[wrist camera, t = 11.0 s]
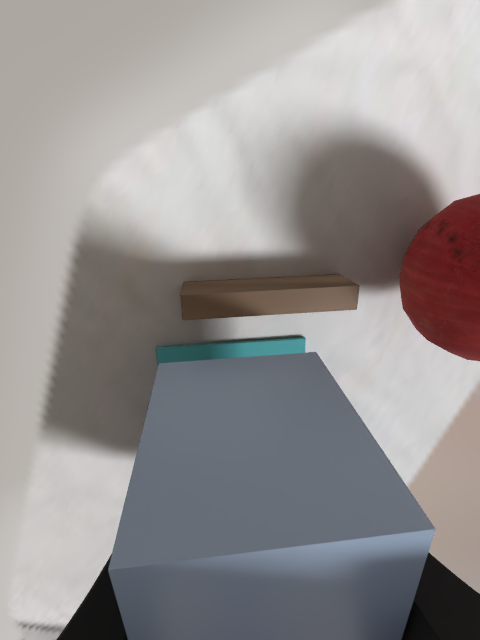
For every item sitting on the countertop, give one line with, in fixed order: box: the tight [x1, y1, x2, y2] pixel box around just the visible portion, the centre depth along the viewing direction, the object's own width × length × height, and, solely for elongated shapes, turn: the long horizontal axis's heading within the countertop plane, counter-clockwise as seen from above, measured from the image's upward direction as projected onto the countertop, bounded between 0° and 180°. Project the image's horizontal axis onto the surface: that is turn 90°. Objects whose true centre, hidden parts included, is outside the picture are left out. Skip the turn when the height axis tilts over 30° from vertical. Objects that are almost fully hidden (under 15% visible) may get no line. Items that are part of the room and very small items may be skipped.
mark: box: [156, 337, 306, 365], centre depth 17 cm, size 7×7×1 cm
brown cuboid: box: [180, 274, 359, 320], centre depth 14 cm, size 1×7×2 cm, turn 92°
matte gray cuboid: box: [108, 352, 435, 640], centre depth 10 cm, size 9×6×7 cm, turn 1°
